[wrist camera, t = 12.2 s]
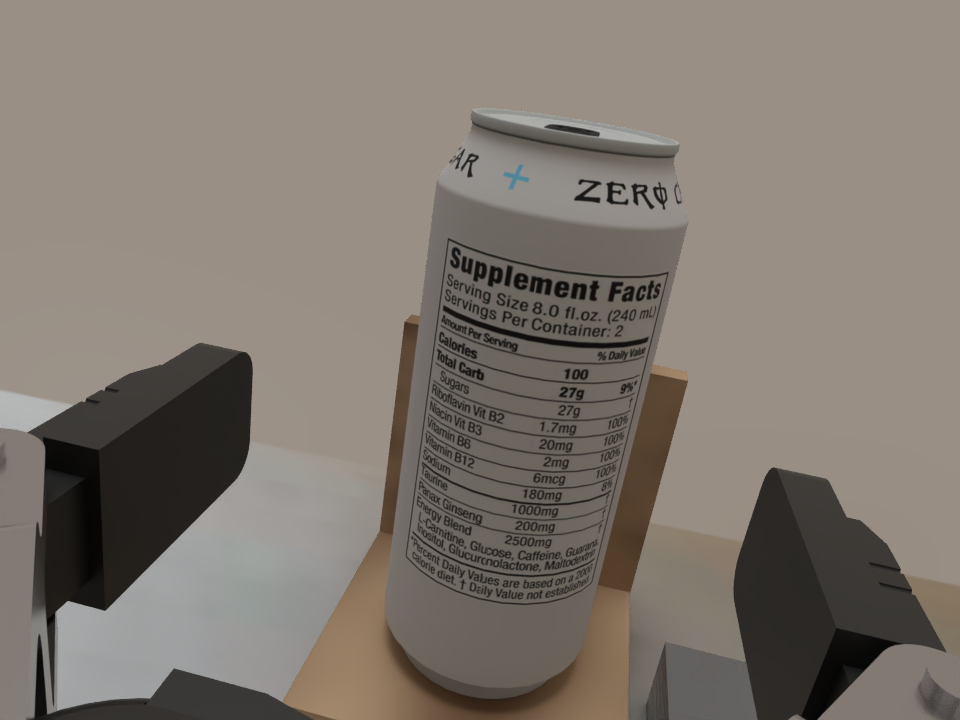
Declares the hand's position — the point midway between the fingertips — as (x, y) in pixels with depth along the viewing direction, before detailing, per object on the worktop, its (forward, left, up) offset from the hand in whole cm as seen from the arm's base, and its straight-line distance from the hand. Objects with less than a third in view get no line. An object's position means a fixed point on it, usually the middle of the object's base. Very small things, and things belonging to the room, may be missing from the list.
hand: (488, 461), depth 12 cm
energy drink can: (0, +8, -11) cm, 13 cm away
